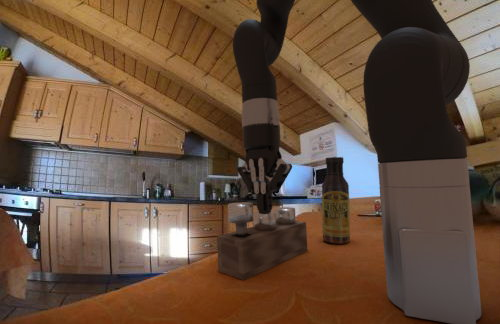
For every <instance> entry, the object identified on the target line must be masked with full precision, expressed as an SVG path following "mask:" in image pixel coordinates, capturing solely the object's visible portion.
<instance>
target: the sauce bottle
mask: <svg viewBox="0 0 500 324" xmlns="http://www.w3.org/2000/svg"><path fill="white" fill-rule="evenodd" d="M325 164H326V176H325V178H324V179H323V182H322V184H321V222H322V224H321V227H322V228H321V229H322V232H321V233H322V239H323V241H324V242H326V243H329V244H335V245H343V244H344V245H345V244H348V243H349V242H350V241H351V238H350V237H351V211H350V208H351V206H350V191H349V187H350V186H349V182H348V180H346V179H345V177H344V166H343V165H344V157H343V156H331V157H325Z"/></svg>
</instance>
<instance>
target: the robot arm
mask: <svg viewBox="0 0 500 324" xmlns="http://www.w3.org/2000/svg"><path fill="white" fill-rule="evenodd" d="M350 1H351V3H352V4H353V6H354V7H355V8H356V9H357V10H358V11H359V13H360V14H361V15H362V16H363V17H364V18H365V20H366V21H367V22H368V23H369V24H370V25H371V27H372V28H374V30H375V31H376V33H377V34H378V36H379V37H380V38H381V39H380V40H379V41H378V42H377V43H376V44H375V46H374V47H373V48H372V50H371V51H370V53H369V55H368V57H367V60H366V63H365V66H364V72H363V82H362V83H363V97H364V103H365V112H366V115H365V116H366V122H367V129H368V136H369V140H370V141H371V142H370V143H372V144H371V145H372V146H373V148H374V150H375V152H376V158H377V169H378V184H379V185H378V186H379V197H380V198H379V199H380V211H381V213H380V215H381V225H382V227H381V228H382V239H383V242H382V243H383V254H384V255H383V256H384V264H385V265H384V266H385V278H386V279H385V280H386V291H387V292H386V293H387V297H388V299H389V301H390V302H391V303H393V304H394V305H395V306H397V307H398V308H400V310H402V311H403V312H404V315H405V316H408V317H412V318H417V319H418V318H419V319H423V320H429V321H435V322H440V323H447V324H477V320H479V319H481V316H482V307H481V306H482V303H481V294H480V293H481V292H480V284H479V283H480V282H479V275H478V274H479V273H478V266H477V265H478V263H477V255H476V253H477V251H476V243H475V240H476V239H475V232H474V220H473V218H474V217H473V210H472V198H471V188H470V187H471V186H470V174H469V173H470V172H469V163H468V151H467V143H466V137H465V136H464V135H463V133H462V132H461V131H459V129H458V128H457V127H456V126H455V124H454V123H453V121H452V120H451V117H450V115H449V113H448V108H447V106H448V105H450V104H452V103H453V102H454V101H455V100H456V99H457V98H458V97H460V95H461V94H462V92H463V91H464V89H465V88H466V85H467V83H468V79H469V76H470V69H471V68H470V67H471V66H470V59H469V56H468V53H467V51H466V49H465V48H464V46H463V45H462V43H461V42H460V41H459V40H458V38H457V36H456V35H455V34H454V32H453V31H452V30H451V28H450V26H449V25H448V23H447V22H446V21H445V20H444V18H443V17H442V15H441V13H440V12H439V10H438V9H437V7H436V5H435V4H434V2H433V0H350ZM295 2H296V0H256V8H257V10H258V12H259V14H260V21H258V20H256V19H254V18H253V19H252V18H247V19H244V20H243V21H241V22H240V23H239V24H238V26H237V27H236V29H235V30H234V33H233V36H232V37H233V39H232V50H233V51H232V52H233V56H234V60H235V65H236V68H237V72H238V75H239V79H240V82H241V100H242V103H241V105H242V107H241V130H242V131H241V133H242V149H244V150H245V156H244V157H245V158H244V163H243V164H242V166H238V167H237V169H236V171H237V173H238V174H239V176H240V177H241V180H242V181H243V183H244V184H245V186H246V188H247V190H248V191H252V192H254V194H256V195H255V197H256V208H257V210H258V211H257V212H259V213H264V214H266V213H270V212H271V211H272V210H273V193H274V192H276V191H278V190H279V191H280V189H282V187H283V184H284V183H285V181H286V179H287V178H288V176H289V174H290V172H291V170H292V168H293V164H291V163H287V162H286V161H284V159H282V157H283V156H282V154H281V152H280V148H281V146H282V145H281V142H282V141H281V125H280V120H281V119H280V111H279V106H278V90H277V80H276V77H275V75H274V73H273V72H272V71H271V69H270V66H271V65H273V64H274V63H275V62H276V60H277V59H278V57H279V56H280V54H281V51H282V48H283V46H284V41H285V37H286V33H287V29H288V22H289V16H290V13H291V11H292V8H293V7H294V5H295Z"/></svg>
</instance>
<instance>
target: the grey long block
mask: <svg viewBox="0 0 500 324" xmlns="http://www.w3.org/2000/svg"><path fill="white" fill-rule="evenodd" d="M307 236H308V235H307V222H306V221H300V220H296V223H295V224H291V225H279V224H277V229H275V230H271V231H258V230H255V229H254V226H251V227H247V237H243V238H239V237H236V230H235V231H232V232H228V233H225V234H219V235H217V236H216V246H217V249H216V250H217V270H218V272H220V273H223V274H225V273H226V275H228V274H229V276H231V277H233V276H234V277H233V278H237V279H239V280H242V281H245V280H247V279H249V278H252V277H255V276H256V275H259V274H261V273H262V272H264V271H267V270H269V269H271V268H273V267H276V266H278V265H279V264H281V263H282V264H283V262H286V261H288V260H290V259H292V258H295V257H296V256H299V255H301V254H303V253H305V252H308V237H307Z"/></svg>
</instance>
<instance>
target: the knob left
mask: <svg viewBox="0 0 500 324" xmlns="http://www.w3.org/2000/svg"><path fill="white" fill-rule="evenodd" d="M227 210H228V211H227V212H228V223H231V224H235V231H236V237H239V238H243V237H247V228H248V223H252V222H254V204H253V202H247V201H246V202H245V201H244V202H231V203H228V204H227Z"/></svg>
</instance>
